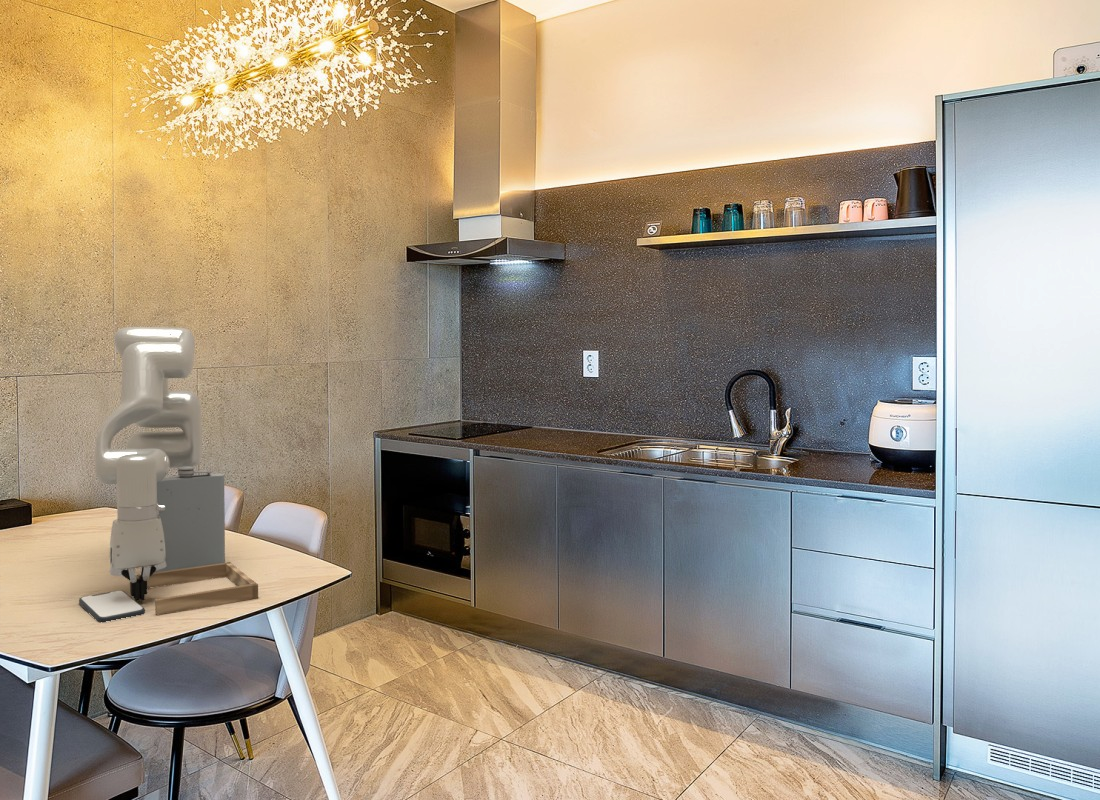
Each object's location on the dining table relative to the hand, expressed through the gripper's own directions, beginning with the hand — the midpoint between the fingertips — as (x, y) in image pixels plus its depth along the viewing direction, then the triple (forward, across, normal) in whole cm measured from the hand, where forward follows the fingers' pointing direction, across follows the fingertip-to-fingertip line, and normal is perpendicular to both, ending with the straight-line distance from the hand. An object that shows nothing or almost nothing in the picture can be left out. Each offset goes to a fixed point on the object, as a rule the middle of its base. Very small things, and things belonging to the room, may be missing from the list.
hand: (138, 598), depth 174 cm
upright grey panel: (+1, -14, -21) cm, 25 cm away
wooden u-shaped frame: (+1, -11, 0) cm, 12 cm away
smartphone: (+1, +5, +1) cm, 6 cm away
